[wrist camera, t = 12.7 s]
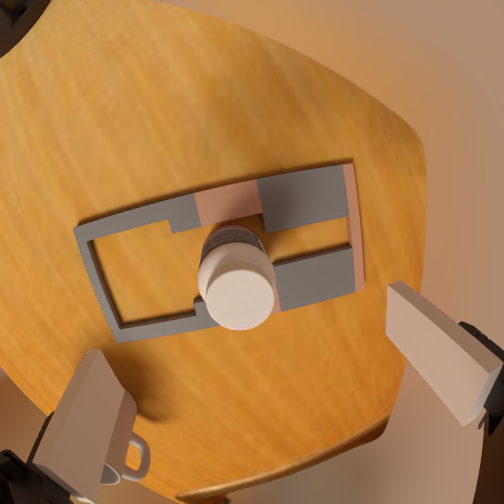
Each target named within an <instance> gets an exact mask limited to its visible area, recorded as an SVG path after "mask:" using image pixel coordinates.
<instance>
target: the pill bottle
mask: <svg viewBox="0 0 504 504" xmlns="http://www.w3.org/2000/svg"><path fill="white" fill-rule="evenodd" d="M275 286H276V274H275V270H274V267H273V265H272V263H271V261H270V259H269V257H268V256H267V254H266V252H265V250H264V248H263V245H262V243H261V241H260V239H259V238H258V237H257V235H256V234H255V233H254V232H253V231H251V230H250V229H248V228H246V227H244V226H240V225H227V226H223V227H221V228H218V229H217V230H215V231H214V232H213V233H211V234H210V236H209V237H208V238H207V240H206V241H205V243H204V246H203V250H202V255H201V260H200V265H199V270H198V287H199V291H200V294H201V296H202V298H203V299H204V301H205V302H206V306H207V309H208V312H209V314H210V316H211V317H212V318H213V319H214V320H215V321H216V322H217V323H218V324H220V325H221V326H223V327H225V328H228V329H232V330H246V329H250V328H253V327H256V326H258V325H259V324H261V323H262V322H263V321H265V320H266V319H267V317H268V316H269V315H270V313H271V311H272V309H273V306H274V301H275V295H274V290H275Z"/></svg>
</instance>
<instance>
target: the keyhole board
mask: <svg viewBox="0 0 504 504" xmlns="http://www.w3.org/2000/svg"><path fill="white" fill-rule="evenodd" d="M260 213H262V218H263V223H264V229H265V232H266V233H271V232H276V231H280V230H285V229H289V228H294V227H299V226H303V225H308V224H313V223H317V222H322V221H327V220H332V219H336V218H341V217H346V220H347V229H348V239H349V246H345V247H341V248H337V249H333V250H329V251H324V252H320V253H316V254H312V255H307V256H303V257H299V258H295V259H290V260H286V261H282V262H277V263H273V264H272V265H273V267H274V270H275V274H276V286H275V290H274V295H275V301H274V306H273V309H272V311H271V313H270V314H274V313H278V312H282V311H286V310H290V309H294V308H298V307H302V306H306V305H310V304H313V303H317V302H321V301H325V300H328V299H332V298H335V297H339V296H342V295H346V294H349V293H353V292H356V291H360V290H363V289H364V266H363V250H362V237H361V225H360V215H359V206H358V197H357V189H356V182H355V175H354V168H353V163H347V164H339V165H333V166H326V167H319V168H313V169H307V170H301V171H295V172H290V173H284V174H278V175H273V176H268V177H263V178H258V179H253V180H248V181H243V182H238V183H234V184H229V185H225V186H220V187H216V188H211V189H207V190H203V191H199V192H194V193H190V194H186V195H182V196H178V197H174V198H171V199H167V200H163V201H159V202H156V203H152V204H148V205H145V206H141V207H138V208H134V209H131V210H127V211H124V212H120V213H117V214H114V215H111V216H107V217H104V218H101V219H98V220H95V221H92V222H88V223H85V224H82V225H79V226H76V227H74V228H73V231H74V234H75V237H76V241H77V244H78V247H79V250H80V253H81V256H82V259H83V262H84V265H85V268H86V270H87V273H88V276H89V279H90V281H91V284H92V286H93V289H94V292H95V294H96V297H97V299H98V301H99V304H100V306H101V309H102V311H103V313H104V316H105V318H106V320H107V322H108V324H109V327H110V329H111V331H112V333H113V335H114V337H115V339H116V341H117V343H122V342H129V341H136V340H142V339H149V338H155V337H161V336H167V335H173V334H178V333H184V332H189V331H195V330H200V329H205V328H210V327H215V326H220V324H218V323H217V322H216V321H215V320H214V319H213V318H212V317H211V316H210V314H209V312H208V309H207V306H206V302H205V301H204V299H203V298H199V299H195V300H194V301H193V305H194V308H195V311H196V312H192V313H187V314H182V315H177V316H171V317H166V318H161V319H155V320H150V321H144V322H139V323H133V324H127V325H122V324H121V322H120V319H119V317H118V315H117V312H116V310H115V308H114V305H113V303H112V300H111V298H110V295H109V293H108V290H107V288H106V285H105V282H104V280H103V277H102V274H101V271H100V269H99V266H98V263H97V260H96V257H95V254H94V251H93V248H92V245H91V241H90V240H93V239H97V238H100V237H104V236H107V235H110V234H114V233H117V232H121V231H125V230H128V229H132V228H135V227H139V226H143V225H147V224H150V223H154V222H158V221H162V220H166V219H169V223H170V227H171V231H172V233H176V232H181V231H185V230H189V229H193V228H197V227H202V226H206V225H210V224H215V223H219V222H223V221H228V220H232V219H237V218H241V217H246V216H250V215H255V214H260Z"/></svg>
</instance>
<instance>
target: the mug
mask: <svg viewBox="0 0 504 504" xmlns="http://www.w3.org/2000/svg"><path fill="white" fill-rule="evenodd" d="M121 386H122V385H121ZM122 387H123V386H122ZM123 389H124V390H125V393H124V396H123V399H122V403H121V406H120V409H119V412H118V416H117V419H116V423H115V426H114V430H113V433H112V437H111V441H110V444H109V448H108V452H107V456H106V460H105V464H104V468H103V472H102V476H101V481H100V484H104V485H113V484H117V483H119V482H120V481H121V478H122V477H123V478H126V479H129V480H132V481H140V480H142V479H143V478H144V477H145V476H146V474H147V472H148V470H149V467H150V460H151V454H150V448H149V446H148V444H147V442H146V441H145V440H144V439H143V438H141V437H140V436H138V435H137V434H135V433H134V432H132V431H133V426H134V422H135V419H136V415H137V404H136V401H135V399H134V397H133V396H132V395H131V393H130V392H129V391H128V390H127V389H126V388H124V387H123ZM129 443H130V444H133V445H134V446H136V447H137V448H138V449H139V451H140V453H141V464H140V467H139V469H138V470H133V469H131V468H129V467H128V466H127V465H126V464H125V461H126V456H127V451H128V446H129Z"/></svg>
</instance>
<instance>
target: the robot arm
mask: <svg viewBox="0 0 504 504" xmlns="http://www.w3.org/2000/svg"><path fill="white" fill-rule="evenodd" d="M49 1H50V0H0V58H1V57H2V56H3V55H5V54H6V53H7V52H8V51H9V50H10V49H11V48H12V47H13V46H15V45H16V44H17V43H18V41H19V40H20V39H21V38H22V37H23V36H24V35H25V34H26V33H27V32H28V30H29V29H30V28H31V27H32V25H33V24H34V23H35V22H36V20H37V19H38V18H39V16H40V15H41V13H42V12H43V11H44V9H45V7H46V6H47V4H48V3H49ZM385 334H386V335H387V336H388V337H389V338H390V340H391V341H392V342H393V343H394V344H395V345H396V346H397V348H398V349H399V350H400V351H401V352H402V353H403V354H404V356H405V357H406V358H407V359H408V360H409V361H410V363H411V364H412V365H413V366H414V367H415V368H416V370H417V371H418V372H419V373H420V374H421V376H422V377H423V378H424V379H425V380H426V381H427V383H428V384H429V385H430V386H431V387H432V389H433V390H434V391H435V392H436V394H437V395H438V396H439V397H440V398H441V400H442V401H443V402H444V403H445V405H446V406H447V407H448V408H449V409H450V411H451V412H452V413H453V414H454V416H455V417H456V418H457V420H458V421H459V422H460V423H461V425H462V426H465V425H466V424H468V423H469V422H471V421H472V420H473V419H475V418H476V417H477V416H478V415H479V413H480V411H481V409H482V408H483V406H484V408H485V409H486V410H487V411H486V413H485V415H484V417H483V418H482V420H481V422H480V423H479V426H478V429H480V428H481V427H482V425H483V423H485V424H484V437H483V448H482V456H481V463H480V470H479V476H478V481H477V486H476V491H475V495H474V499H473V504H504V351H503V350H502V349H501V348H500V347H499V346H498V345H496V344H495V343H494V342H493V341H491V340H490V339H488V337H487V336H485V335H484V334H481V332H480V331H479V330H478V329H477V328H475V327H474V326H473V325H470V324H468V323H465V322H460V323H456V322H455V321H454V320H453V319H451V318H450V317H449V316H448V315H446V314H445V313H444V312H442V311H441V310H440V309H439V308H437V307H436V306H435V305H433V304H432V303H431V302H429V301H428V300H427V299H426V298H424V297H423V296H422V295H420V294H419V293H418V292H416V291H415V290H414V289H412V288H411V287H410V286H408V285H407V284H406V283H404V282H403V281H402V280H400V281H397V282H394V283H391V284H388V289H387V317H386V333H385ZM124 393H125V390H124V389H123V387H122V386H121V384H120V382H119V381H118V379H117V377H116V376H115V374H114V372H113V371H112V369H111V367H110V365H109V364H108V362H107V360H106V358H105V356H104V355H103V353H102V351H101V349H92V350H87V351H86V353H85V355H84V357H83V358H82V360H81V362H80V364H79V366H78V367H77V369H76V371H75V373H74V375H73V377H72V378H71V380H70V382H69V384H68V386H67V388H66V390H65V392H64V394H63V396H62V398H61V400H60V402H59V404H58V406H57V408H56V410H55V411H53V412H52V413H51V414H50V415H49V416H48V417H47V418H46V420H45V422H44V424H43V426H42V428H41V429H42V430H41V431H40V432H39V435H38V438H37V439H36V441H35V444H34V446H33V448H32V450H31V453H30V455H29V457H28V460H27V462H26V464H25V463H24V462H23V461H22V460H21V459H20V458H19V457H18V456H16V454H15V453H14V452H12V451H11V450H3V451H1V452H0V504H74V503H73V502H72V501H71V500H70V499H69V498H70V494H71V495H73V496H74V497H75V498H77V499H78V500H80V501H83V502H88V503H92V504H96V499H97V494H98V489H99V485H100V481H101V476H102V472H103V468H104V464H105V460H106V456H107V452H108V448H109V444H110V441H111V437H112V433H113V430H114V426H115V423H116V419H117V416H118V412H119V409H120V406H121V403H122V399H123V396H124Z"/></svg>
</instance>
